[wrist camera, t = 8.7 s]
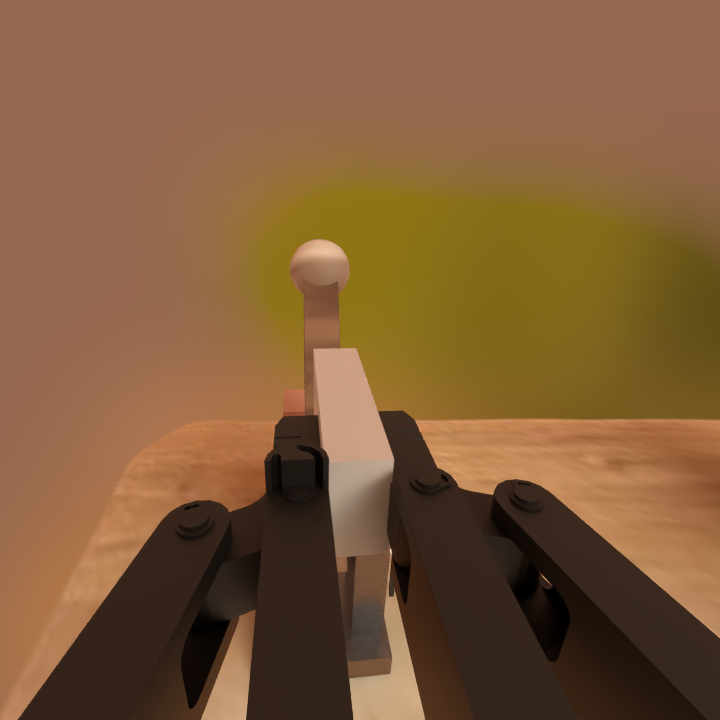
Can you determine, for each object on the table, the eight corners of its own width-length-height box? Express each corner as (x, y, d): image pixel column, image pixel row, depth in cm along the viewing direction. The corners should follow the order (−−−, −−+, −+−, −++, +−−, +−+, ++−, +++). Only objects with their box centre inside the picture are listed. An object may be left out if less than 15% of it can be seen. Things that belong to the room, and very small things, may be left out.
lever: (366, 574, 25) (351, 228, 31) (289, 579, 25) (289, 226, 31) (356, 560, 29) (345, 258, 35) (290, 565, 29) (290, 256, 35)
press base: (399, 672, 27) (413, 569, 23) (252, 688, 25) (244, 582, 22) (360, 483, 43) (364, 408, 40) (269, 487, 42) (266, 410, 39)
